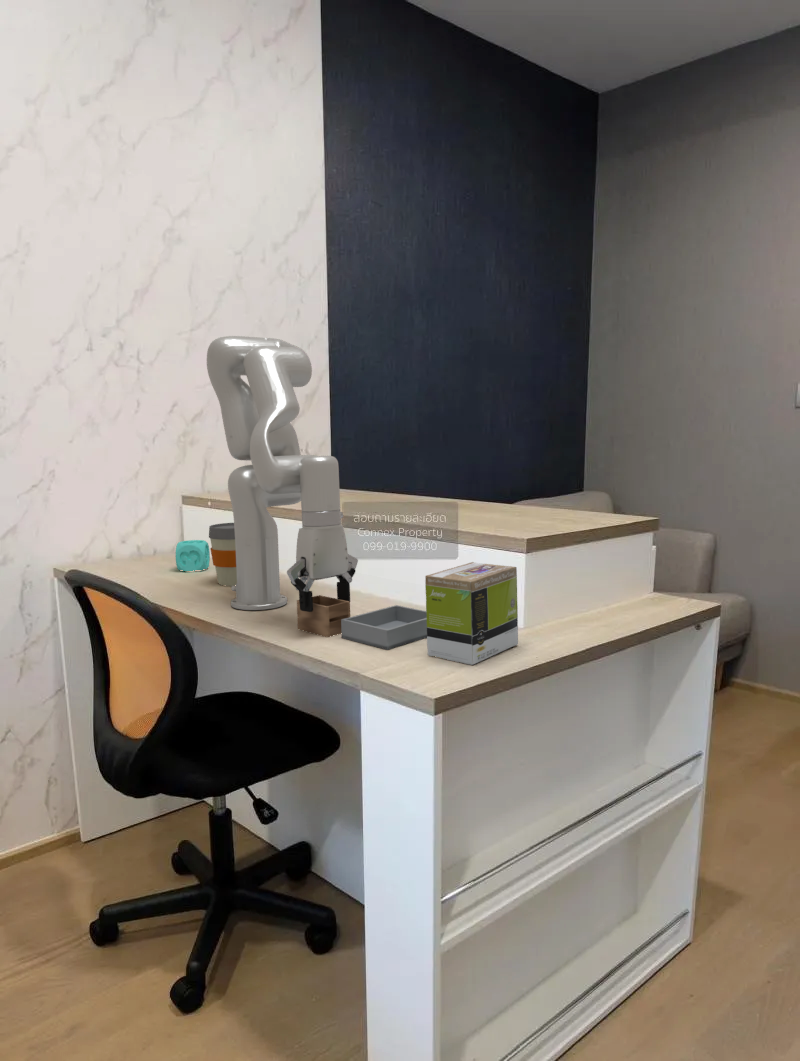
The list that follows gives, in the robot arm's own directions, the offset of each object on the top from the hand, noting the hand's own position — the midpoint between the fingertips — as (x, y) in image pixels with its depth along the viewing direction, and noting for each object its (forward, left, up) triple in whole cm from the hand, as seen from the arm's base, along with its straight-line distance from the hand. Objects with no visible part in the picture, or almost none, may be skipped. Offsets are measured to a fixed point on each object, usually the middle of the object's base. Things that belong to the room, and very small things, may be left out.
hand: (325, 606), depth 151 cm
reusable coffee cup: (-54, +16, -5) cm, 56 cm away
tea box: (+30, +8, -5) cm, 32 cm away
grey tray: (+12, +6, -5) cm, 14 cm away
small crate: (-1, 0, -5) cm, 5 cm away
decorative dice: (-79, +19, -5) cm, 81 cm away
